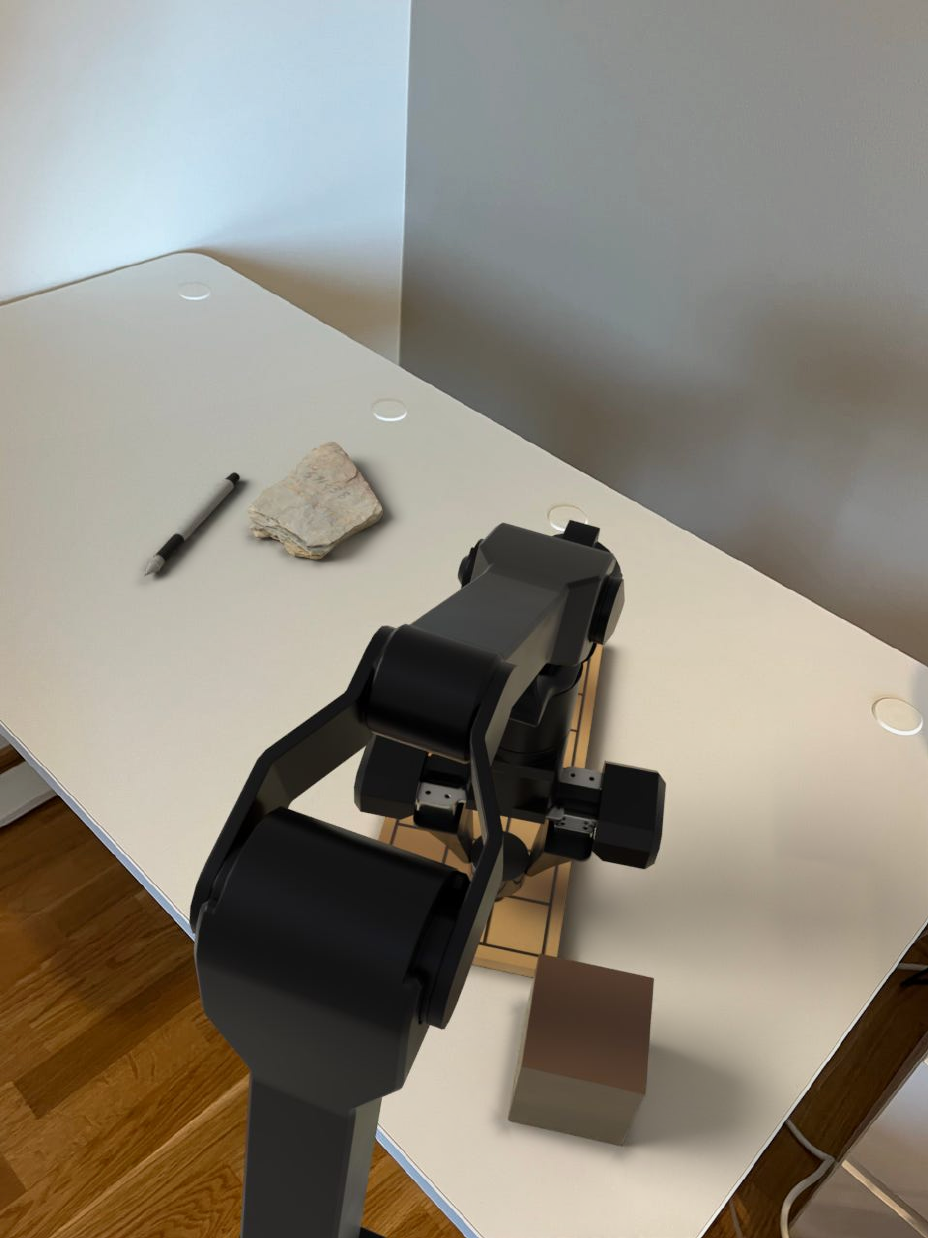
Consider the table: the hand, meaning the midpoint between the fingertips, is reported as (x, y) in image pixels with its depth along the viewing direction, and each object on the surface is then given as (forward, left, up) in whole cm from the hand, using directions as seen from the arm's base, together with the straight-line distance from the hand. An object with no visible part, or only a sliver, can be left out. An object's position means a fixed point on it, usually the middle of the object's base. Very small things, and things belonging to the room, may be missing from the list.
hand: (498, 864), depth 72 cm
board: (+11, +2, -5) cm, 12 cm away
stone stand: (-11, -7, -5) cm, 14 cm away
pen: (+33, +35, -5) cm, 48 cm away
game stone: (0, 0, -1) cm, 1 cm away
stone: (+38, +25, -5) cm, 46 cm away
